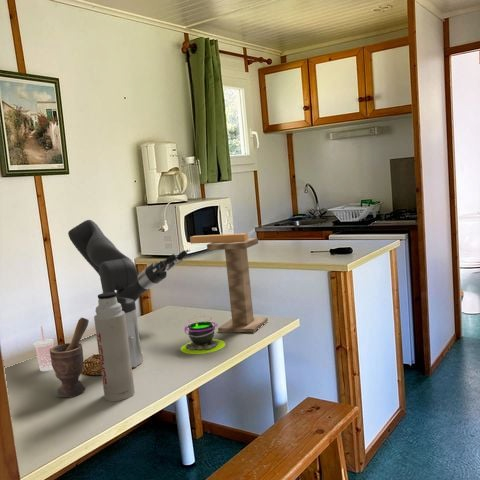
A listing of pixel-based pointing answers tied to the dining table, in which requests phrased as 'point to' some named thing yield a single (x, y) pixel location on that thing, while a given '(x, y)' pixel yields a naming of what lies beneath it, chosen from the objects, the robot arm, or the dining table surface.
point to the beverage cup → (44, 352)
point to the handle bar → (219, 238)
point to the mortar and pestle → (70, 362)
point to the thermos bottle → (113, 348)
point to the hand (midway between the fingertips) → (180, 254)
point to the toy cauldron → (201, 338)
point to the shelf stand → (239, 286)
